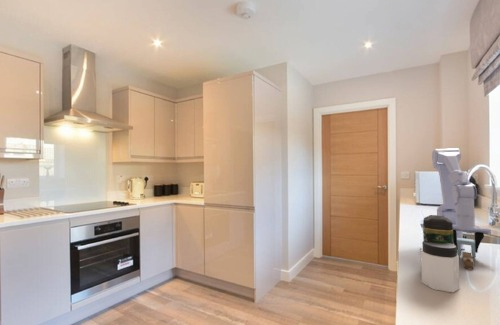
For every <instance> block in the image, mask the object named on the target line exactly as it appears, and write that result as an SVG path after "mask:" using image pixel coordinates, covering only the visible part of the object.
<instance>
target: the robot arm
mask: <svg viewBox="0 0 500 325" xmlns="http://www.w3.org/2000/svg"><path fill="white" fill-rule="evenodd" d="M461 158H462V152H461V150H460V149H459V148H456V147H455V148H434V149H433V150H432V152H431V160H432V166H433V168H434V169H436V170H437V171H438V175H439V183H440V190H441V196H442V202H443V203H441V205H440V206H438V207H437V209H436V215H438V216H444V217H445V218H447V219H449V220H451V221H452V223H453V244H454V245H456V246H457V238H464V237H463V236H464V235H463V233H465V232H467V233H473V234H474V235H473V236H474V241H475V252H476V254H477V253H478V250H479V248H480V244H481V242H482V241H483V239H484V238H485V235H489V236H491V235H492V229H491V228H486V227H480V226H476V222H475V219H476V218H475V217H476V216H475V200H476V198H477V197H478V190H477V188H476V185H475V184H474V183H472V182H470V180H469V178H468V176H467V174H466V172H465V171H463V170H461V167H460V161H461ZM460 245H461V250H463V251H464V250H466V249H465V245H464V244H460ZM457 250H458V247H457Z"/></svg>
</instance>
